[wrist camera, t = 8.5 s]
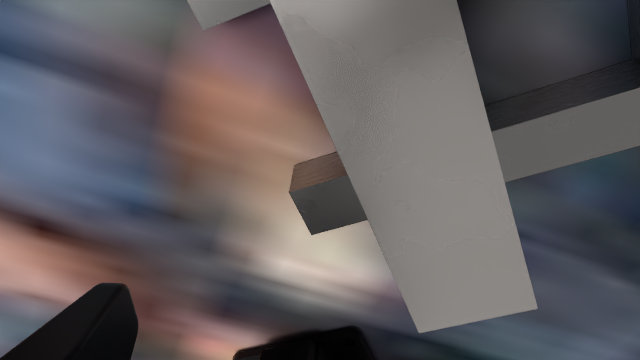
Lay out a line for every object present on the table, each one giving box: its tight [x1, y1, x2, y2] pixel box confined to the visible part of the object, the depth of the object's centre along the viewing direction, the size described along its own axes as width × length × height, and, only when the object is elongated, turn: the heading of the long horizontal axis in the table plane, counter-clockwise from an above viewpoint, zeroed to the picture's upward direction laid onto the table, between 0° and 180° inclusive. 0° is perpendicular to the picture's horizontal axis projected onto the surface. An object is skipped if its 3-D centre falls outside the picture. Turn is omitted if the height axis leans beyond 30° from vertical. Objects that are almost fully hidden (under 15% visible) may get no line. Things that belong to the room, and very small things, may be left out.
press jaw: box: [270, 0, 538, 333], centre depth 13 cm, size 10×3×5 cm, turn 22°
